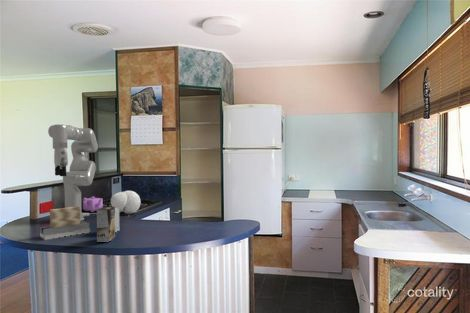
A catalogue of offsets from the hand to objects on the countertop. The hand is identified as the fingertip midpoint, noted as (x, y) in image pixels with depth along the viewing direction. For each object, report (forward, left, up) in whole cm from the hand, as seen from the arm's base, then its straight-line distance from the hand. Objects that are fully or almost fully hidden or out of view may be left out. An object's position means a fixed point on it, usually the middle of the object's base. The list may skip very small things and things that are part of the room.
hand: (60, 175), depth 193 cm
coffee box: (-8, +45, -31) cm, 55 cm away
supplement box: (-16, +30, -31) cm, 46 cm away
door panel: (+3, +18, -28) cm, 34 cm away
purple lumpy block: (-33, -42, -31) cm, 62 cm away
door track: (+3, +18, -30) cm, 35 cm away
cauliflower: (-46, -13, -31) cm, 56 cm away
